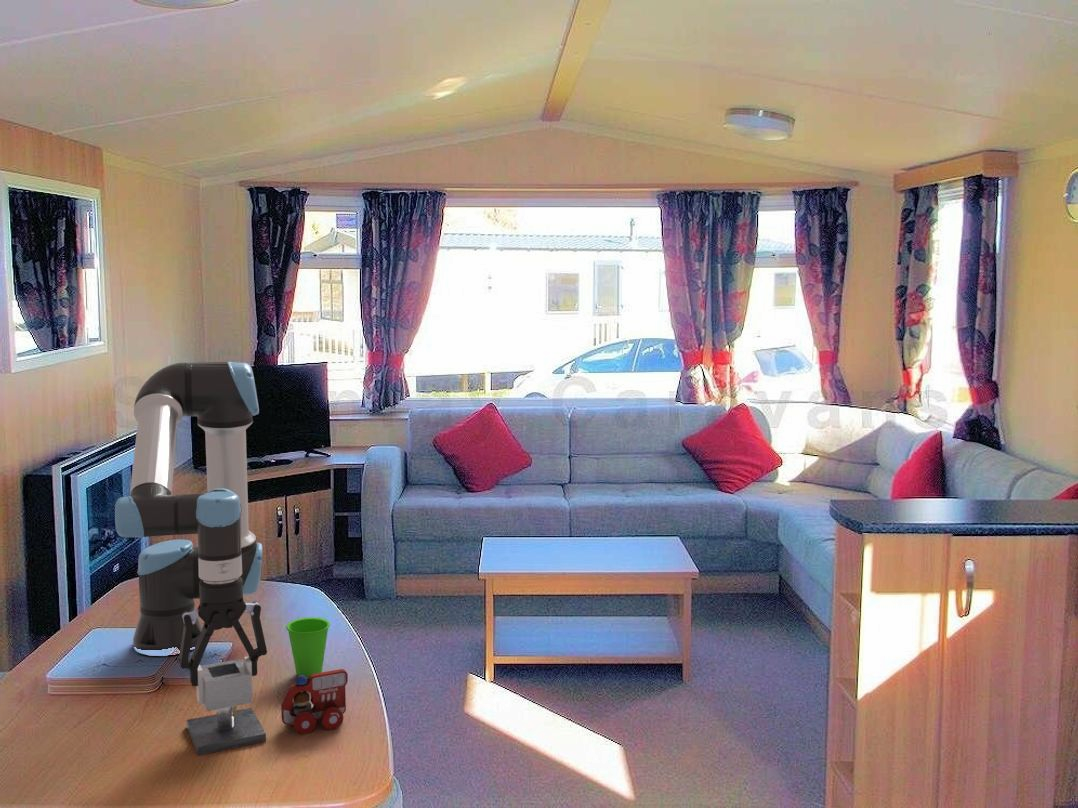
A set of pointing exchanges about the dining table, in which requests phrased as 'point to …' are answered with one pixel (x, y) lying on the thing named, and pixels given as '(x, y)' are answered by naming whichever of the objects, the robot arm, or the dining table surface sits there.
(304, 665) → the cup
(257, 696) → the dining table surface
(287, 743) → the dining table surface
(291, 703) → the toy fire truck
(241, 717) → the shaft stand
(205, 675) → the grey block with hole
